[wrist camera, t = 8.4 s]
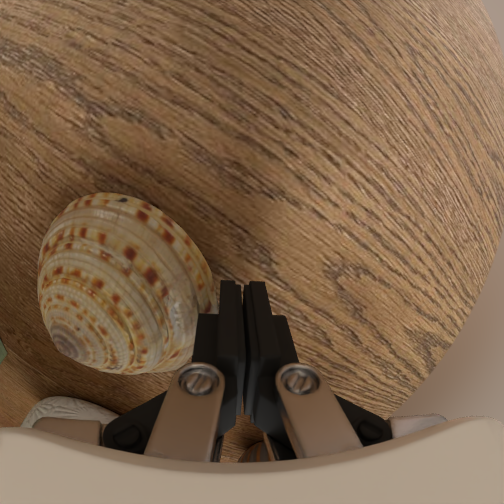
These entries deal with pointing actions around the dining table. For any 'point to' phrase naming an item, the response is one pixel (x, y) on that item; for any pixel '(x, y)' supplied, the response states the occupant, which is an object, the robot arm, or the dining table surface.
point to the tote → (2, 352)
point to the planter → (67, 410)
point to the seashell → (122, 285)
